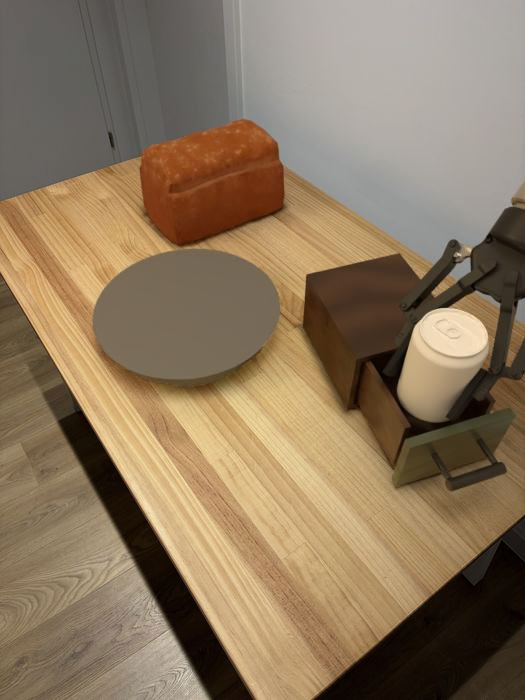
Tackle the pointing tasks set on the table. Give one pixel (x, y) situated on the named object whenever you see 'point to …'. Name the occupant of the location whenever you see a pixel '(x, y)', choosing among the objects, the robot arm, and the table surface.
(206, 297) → the flat disc
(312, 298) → the cabinet
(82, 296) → the table surface
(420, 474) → the drawer
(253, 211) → the bread
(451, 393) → the beverage can
